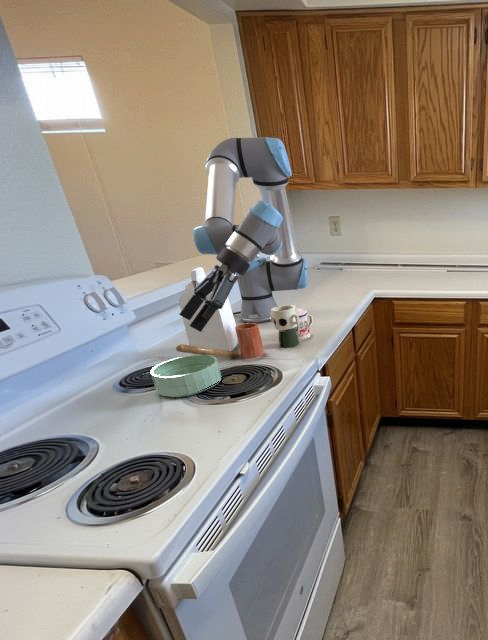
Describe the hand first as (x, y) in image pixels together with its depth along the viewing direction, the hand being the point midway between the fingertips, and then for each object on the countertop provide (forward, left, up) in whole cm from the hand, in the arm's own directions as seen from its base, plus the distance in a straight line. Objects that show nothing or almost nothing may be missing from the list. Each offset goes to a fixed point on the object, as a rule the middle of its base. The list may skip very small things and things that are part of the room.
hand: (189, 323), depth 106 cm
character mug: (-6, +29, -17) cm, 34 cm away
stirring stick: (0, -4, -5) cm, 7 cm away
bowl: (0, -4, -17) cm, 17 cm away
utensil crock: (-7, +17, -17) cm, 25 cm away
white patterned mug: (-12, +37, -17) cm, 43 cm away
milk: (-23, +13, -17) cm, 32 cm away
